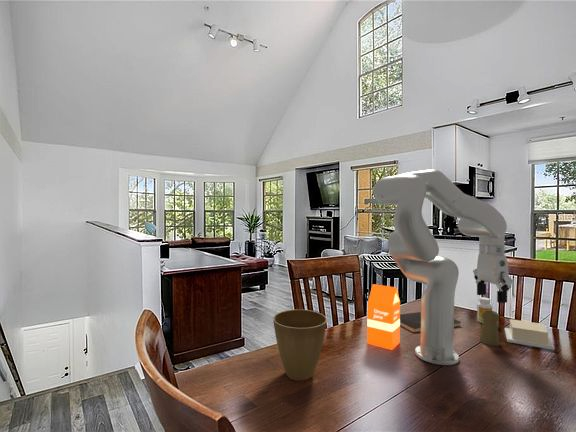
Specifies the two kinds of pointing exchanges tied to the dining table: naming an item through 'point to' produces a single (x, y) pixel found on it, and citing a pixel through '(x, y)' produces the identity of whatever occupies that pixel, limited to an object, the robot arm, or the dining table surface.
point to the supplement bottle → (483, 307)
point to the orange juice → (383, 317)
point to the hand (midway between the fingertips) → (491, 298)
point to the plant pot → (299, 341)
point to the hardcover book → (415, 321)
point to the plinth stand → (528, 334)
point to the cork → (490, 328)
